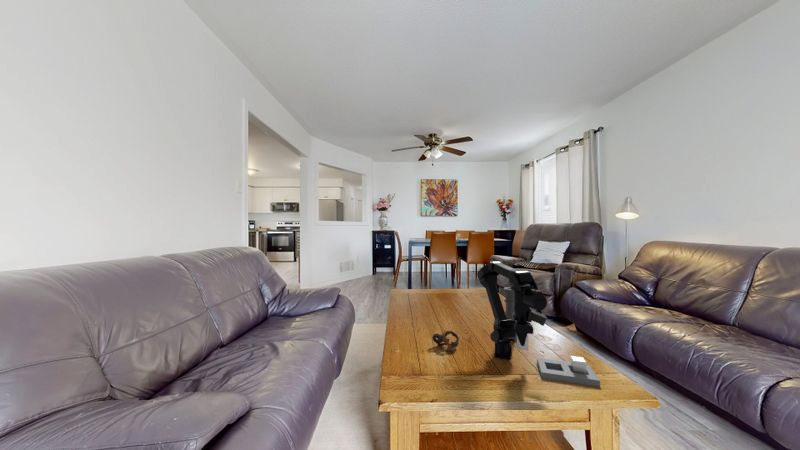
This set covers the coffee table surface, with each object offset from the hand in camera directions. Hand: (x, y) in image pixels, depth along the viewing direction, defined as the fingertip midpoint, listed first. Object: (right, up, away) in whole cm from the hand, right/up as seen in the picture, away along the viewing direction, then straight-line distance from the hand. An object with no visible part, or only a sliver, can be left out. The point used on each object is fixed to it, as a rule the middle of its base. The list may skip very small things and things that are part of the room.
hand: (522, 343), depth 110 cm
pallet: (+14, -10, -5) cm, 18 cm away
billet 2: (+18, -9, -6) cm, 21 cm away
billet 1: (0, -2, 0) cm, 2 cm away
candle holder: (+7, -11, +30) cm, 33 cm away
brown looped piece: (-26, -11, +22) cm, 36 cm away
